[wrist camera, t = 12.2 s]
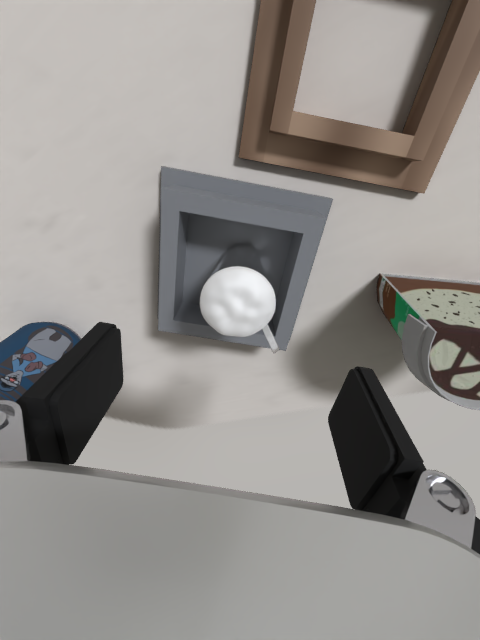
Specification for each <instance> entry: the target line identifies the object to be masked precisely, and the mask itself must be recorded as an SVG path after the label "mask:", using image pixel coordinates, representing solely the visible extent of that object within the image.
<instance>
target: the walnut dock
mask: <svg viewBox="0 0 480 640" xmlns="http://www.w3.org/2000/svg"><path fill="white" fill-rule="evenodd" d="M315 3H316V0H261V3H260V10H259V17H258V24H257V32H256V39H255V46H254V53H253V60H252V67H251V74H250V81H249V88H248V95H247V102H246V109H245V116H244V123H243V130H242V137H241V144H240V151H239V158H243V159H249V160H254V161H259V162H264V163H269V164H274V165H280V166H285V167H290V168H295V169H300V170H305V171H311V172H316V173H321V174H326V175H331V176H336V177H341V178H347V179H352V180H357V181H362V182H367V183H372V184H378V185H383V186H388V187H393V188H398V189H403V190H409V191H414V192H419V193H425V190H426V188H427V186H428V184H429V182H430V179H431V177H432V175H433V173H434V171H435V168H436V166H437V164H438V162H439V159H440V157H441V155H442V153H443V151H444V148H445V146H446V144H447V142H448V140H449V137H450V135H451V133H452V131H453V128H454V126H455V124H456V122H457V120H458V117H459V115H460V113H461V111H462V109H463V106H464V104H465V102H466V100H467V97H468V95H469V93H470V91H471V89H472V86H473V84H474V82H475V80H476V78H477V75H478V73H479V71H480V0H452V2H451V5H450V7H449V10H448V13H447V15H446V18H445V21H444V23H443V26H442V29H441V31H440V34H439V37H438V39H437V42H436V44H435V47H434V50H433V52H432V55H431V58H430V60H429V63H428V66H427V68H426V71H425V73H424V76H423V79H422V81H421V84H420V87H419V89H418V92H417V95H416V97H415V100H414V103H413V105H412V108H411V110H410V113H409V116H408V118H407V121H406V124H405V126H404V129H403V132H402V133H397V132H392V131H387V130H383V129H378V128H373V127H368V126H363V125H358V124H353V123H348V122H343V121H339V120H334V119H329V118H324V117H319V116H314V115H309V114H304V113H300V112H295V111H293V108H294V103H295V98H296V93H297V89H298V84H299V79H300V74H301V70H302V65H303V60H304V55H305V51H306V46H307V41H308V36H309V32H310V27H311V22H312V17H313V13H314V8H315Z"/></svg>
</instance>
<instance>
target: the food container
mask: <svg viewBox="0 0 480 640" xmlns="http://www.w3.org/2000/svg"><path fill="white" fill-rule="evenodd" d="M377 301H378V303H379V305H380V307H381V309H382V311H383V313H384V315H385V316H386V318H387V319H388V321H389V322H390V324H391V325H392V327H393V328H394V330H395V331H396V333H397V334H398V336H399V337H400V339H401V340H402V352H403V355H404V359H405V362H406V364H407V366H408V368H409V370H410V371H411V372H412V374H413V375H414V376H415V377H416V378H417V379H418V380H419V381H421V382H422V383H423V384H425V385H426V386H427V387H428V388H430V389H431V390H432V391H434V392H435V393H436V394H438V395H439V396H441V397H443V398H445V399H447V400H449V401H451V402H453V403H455V404H457V405H459V406H463V407H466V408H470V409H475V410H480V283H477V282H466V281H455V280H445V279H434V278H423V277H412V276H402V275H391V274H379V278H378V282H377Z"/></svg>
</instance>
